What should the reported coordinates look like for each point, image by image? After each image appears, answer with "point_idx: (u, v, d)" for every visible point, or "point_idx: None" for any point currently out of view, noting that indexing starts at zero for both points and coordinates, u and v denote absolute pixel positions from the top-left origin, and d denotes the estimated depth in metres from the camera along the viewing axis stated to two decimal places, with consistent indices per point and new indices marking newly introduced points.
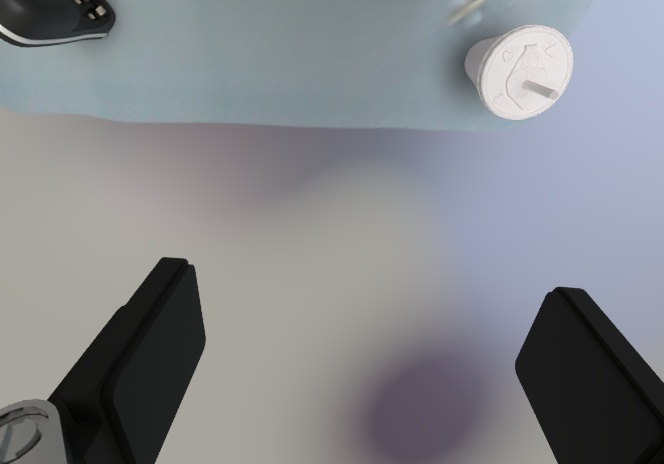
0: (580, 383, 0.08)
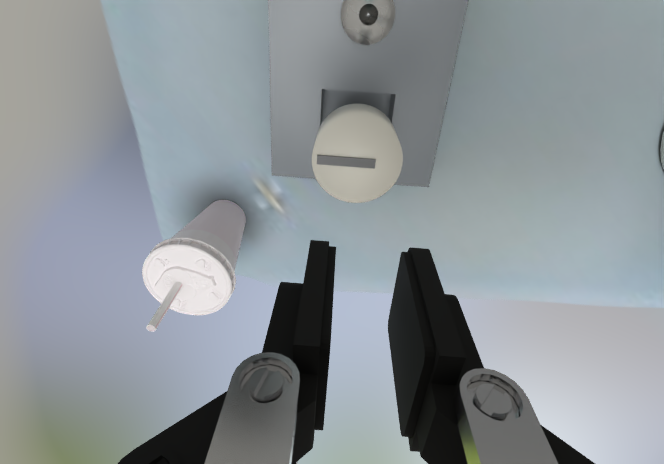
0: (406, 326, 0.09)
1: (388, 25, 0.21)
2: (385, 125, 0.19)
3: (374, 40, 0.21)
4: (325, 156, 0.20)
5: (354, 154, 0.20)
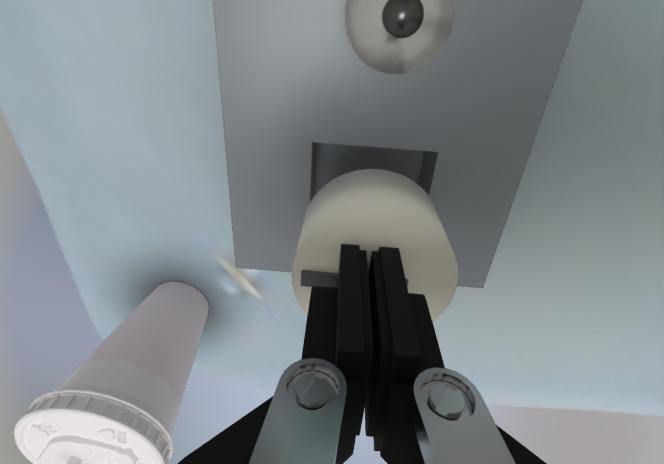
0: (372, 325, 0.09)
1: (440, 37, 0.10)
2: (429, 226, 0.10)
3: (410, 66, 0.11)
4: (316, 274, 0.11)
5: None
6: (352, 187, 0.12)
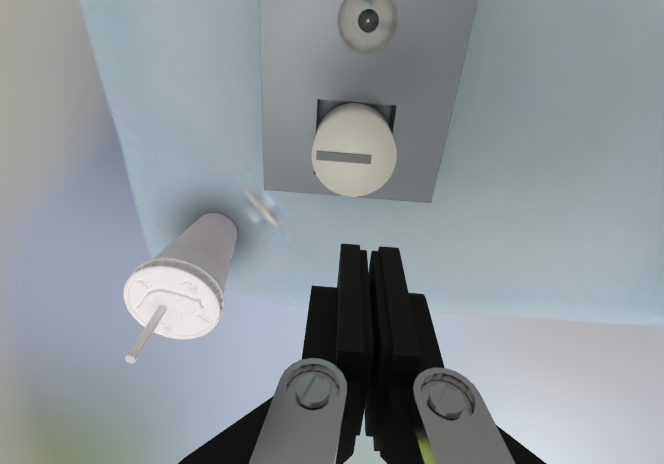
0: (372, 325, 0.09)
1: (390, 32, 0.19)
2: (380, 123, 0.21)
3: (374, 48, 0.19)
4: (324, 152, 0.21)
5: (351, 150, 0.22)
6: (342, 109, 0.22)
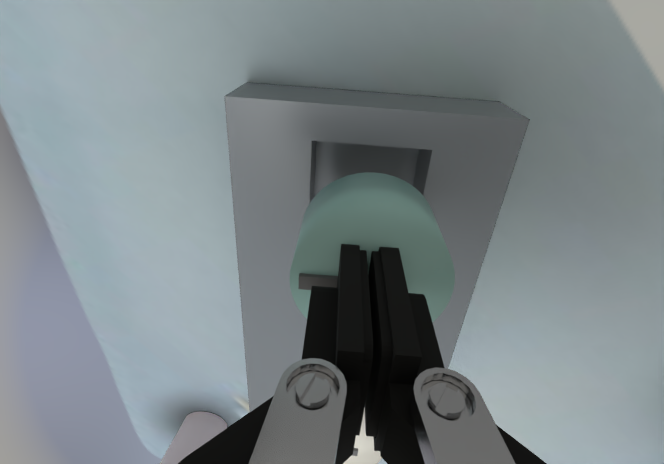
0: (372, 325, 0.09)
1: None
2: None
3: None
4: None
5: None
6: None
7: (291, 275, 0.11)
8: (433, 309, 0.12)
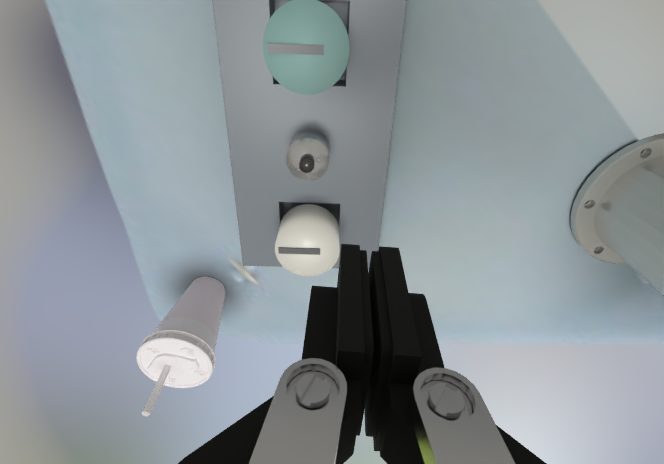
0: (372, 325, 0.09)
1: (324, 167, 0.26)
2: (324, 227, 0.28)
3: (314, 177, 0.26)
4: (284, 248, 0.28)
5: (304, 246, 0.28)
6: (297, 213, 0.29)
7: (263, 45, 0.21)
8: (341, 64, 0.22)
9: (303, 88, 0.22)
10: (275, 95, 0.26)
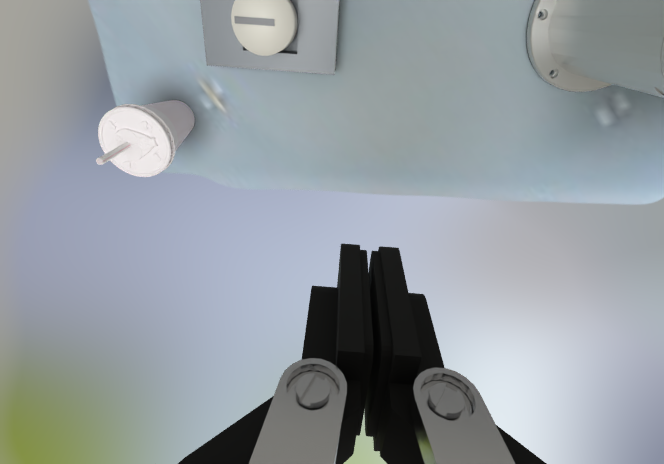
0: (372, 325, 0.09)
1: None
2: None
3: None
4: (240, 17, 0.30)
5: (259, 15, 0.30)
6: None
7: None
8: None
9: None
10: None
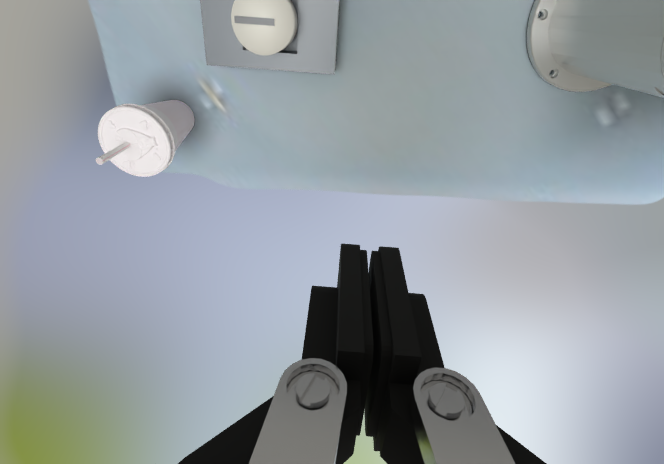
0: (372, 325, 0.09)
1: None
2: None
3: None
4: (240, 16, 0.30)
5: (259, 15, 0.30)
6: None
7: None
8: None
9: None
10: None
